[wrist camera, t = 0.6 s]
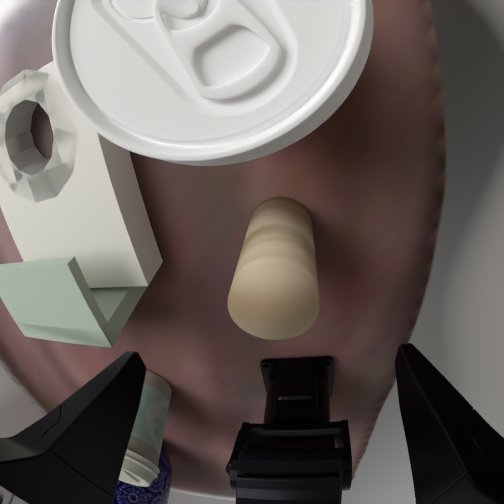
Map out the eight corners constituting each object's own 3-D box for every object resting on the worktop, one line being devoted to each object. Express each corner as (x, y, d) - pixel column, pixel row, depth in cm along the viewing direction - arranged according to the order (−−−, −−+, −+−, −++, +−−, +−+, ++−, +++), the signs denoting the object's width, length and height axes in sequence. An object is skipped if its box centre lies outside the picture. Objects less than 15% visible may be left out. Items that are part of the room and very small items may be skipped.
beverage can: (274, -33, 12) (243, -159, 2) (353, 76, 15) (456, 76, 5) (159, 40, 15) (3, 26, 5) (234, 143, 18) (153, 243, 8)
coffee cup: (171, 410, 35) (145, 491, 25) (110, 381, 34) (74, 459, 24) (194, 383, 31) (164, 484, 21) (121, 347, 29) (74, 443, 19)
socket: (163, 261, 23) (148, 285, 20) (55, 269, 25) (37, 288, 23) (104, 39, 15) (77, 37, 12) (-2, 101, 17) (-27, 109, 14)
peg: (314, 249, 21) (320, 337, 14) (255, 254, 22) (237, 340, 15) (309, 193, 19) (317, 266, 12) (245, 200, 20) (218, 273, 13)
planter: (175, 466, 49) (151, 553, 31) (88, 432, 48) (55, 514, 30) (188, 437, 39) (156, 559, 22) (75, 391, 38) (23, 500, 21)
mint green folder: (148, 284, 24) (111, 347, 18) (64, 287, 26) (24, 336, 20) (121, 210, 21) (67, 264, 15) (36, 227, 23) (-14, 271, 17)
